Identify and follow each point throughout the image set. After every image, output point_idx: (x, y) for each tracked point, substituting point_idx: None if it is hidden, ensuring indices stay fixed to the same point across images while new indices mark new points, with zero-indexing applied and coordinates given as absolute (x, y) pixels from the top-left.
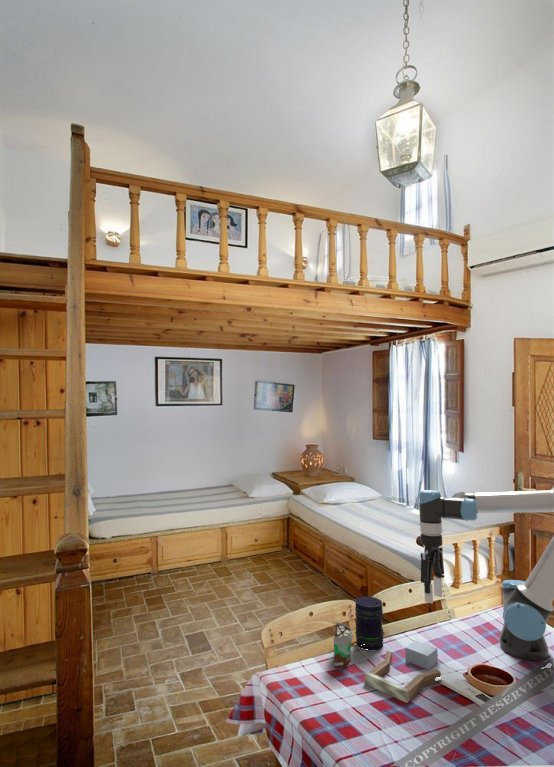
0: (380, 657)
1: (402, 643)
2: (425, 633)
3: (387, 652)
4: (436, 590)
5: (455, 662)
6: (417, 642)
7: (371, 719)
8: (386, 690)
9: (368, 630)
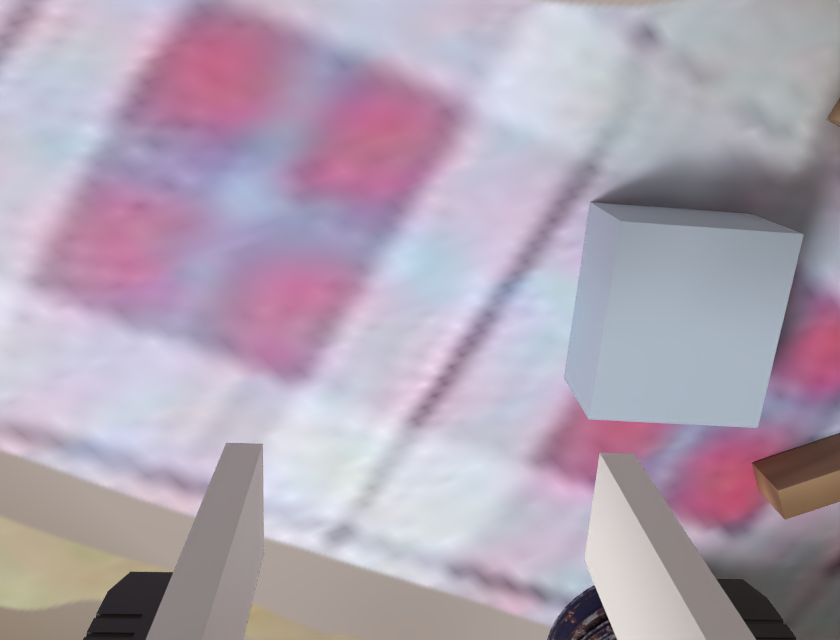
0: (765, 526)
1: (481, 505)
2: (197, 446)
3: (806, 505)
4: (248, 575)
5: (516, 84)
6: (618, 390)
7: None
8: None
9: None
